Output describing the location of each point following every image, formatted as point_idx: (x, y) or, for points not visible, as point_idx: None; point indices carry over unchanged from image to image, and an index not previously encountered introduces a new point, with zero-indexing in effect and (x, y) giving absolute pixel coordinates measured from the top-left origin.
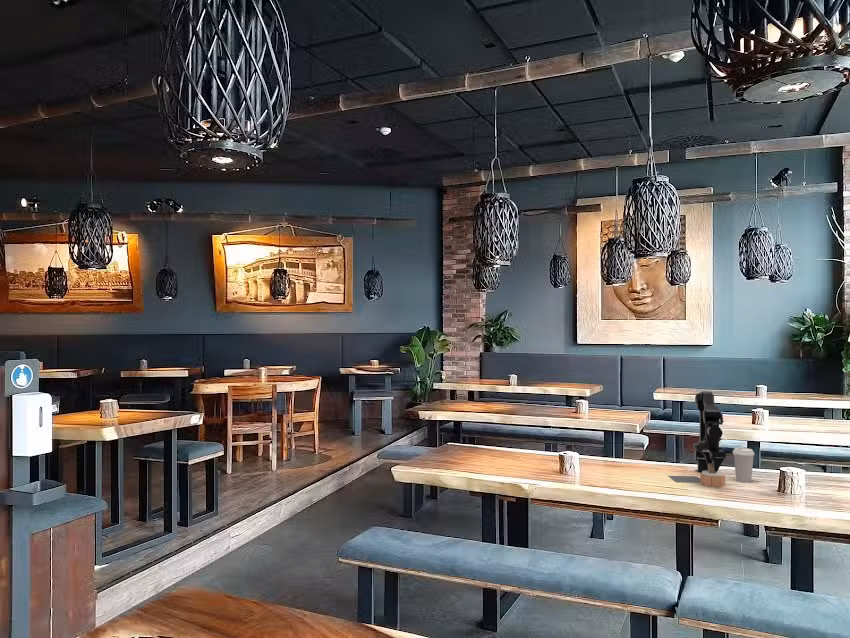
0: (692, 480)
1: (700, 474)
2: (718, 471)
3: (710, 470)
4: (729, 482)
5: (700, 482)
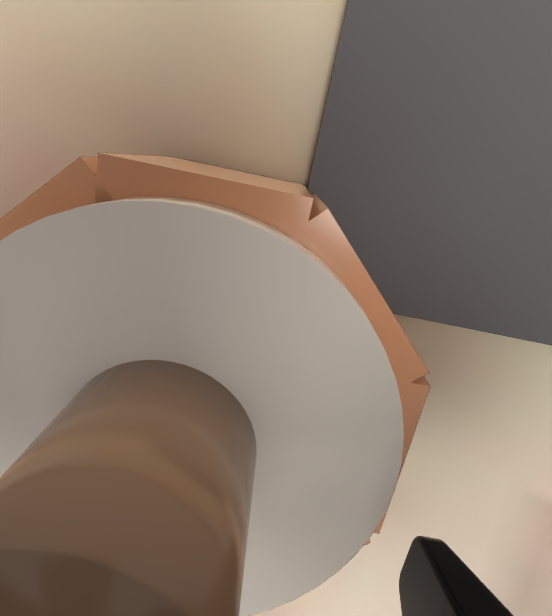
0: (501, 145)
1: (284, 191)
2: (248, 605)
3: (66, 409)
4: (347, 600)
5: (287, 183)
